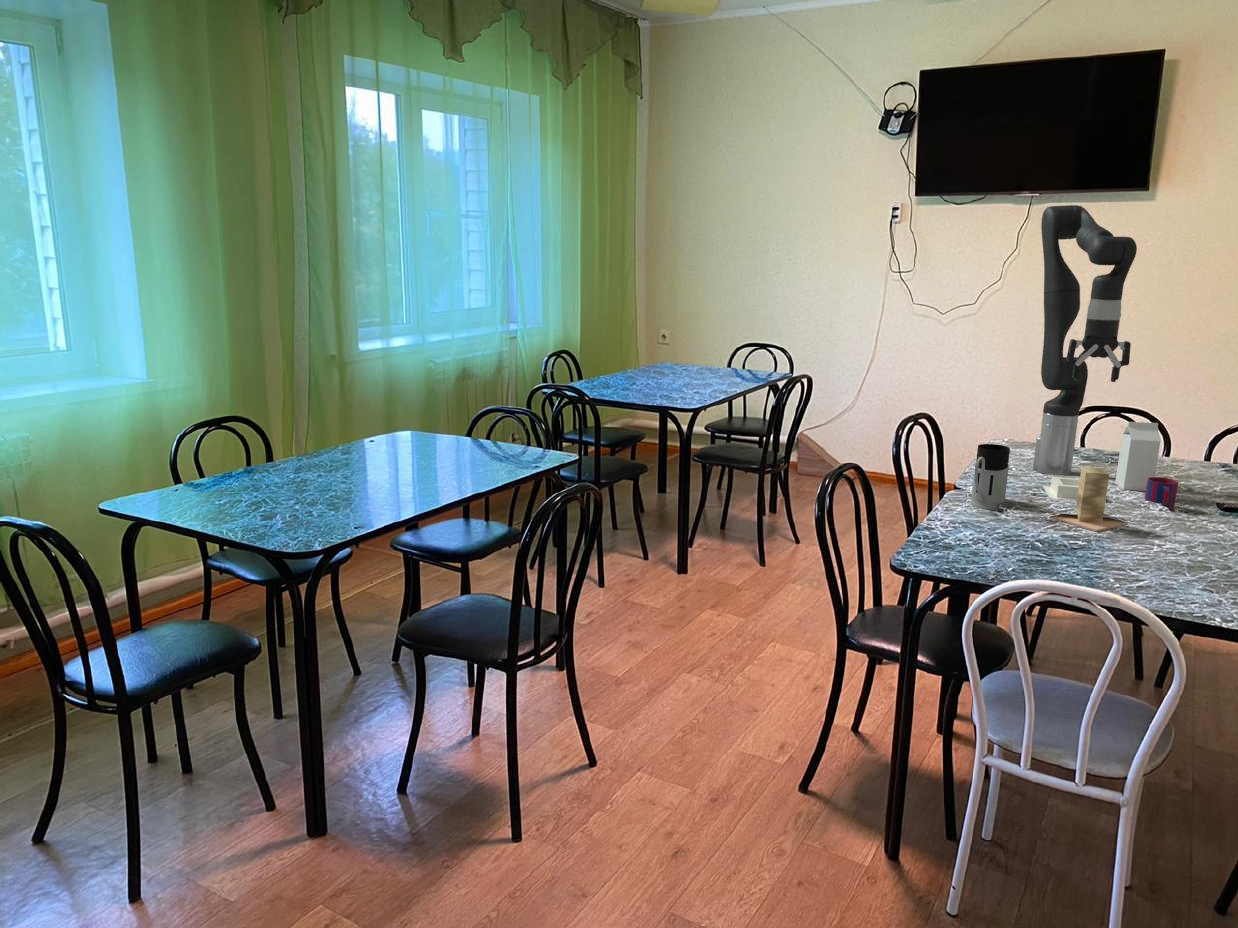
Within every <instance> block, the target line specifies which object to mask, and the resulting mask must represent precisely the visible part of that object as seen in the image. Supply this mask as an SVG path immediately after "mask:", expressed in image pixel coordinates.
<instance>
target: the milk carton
mask: <svg viewBox="0 0 1238 928" xmlns="http://www.w3.org/2000/svg"><path fill="white" fill-rule="evenodd" d="M1160 445H1161V437H1160V432H1159V423H1158V422H1143V421H1142V422H1141V421H1140V422H1138V421H1128V423H1127V426H1126V428H1125V429H1124V431H1123V433H1122V435H1121V441H1120V448H1119V449H1120V450H1119V455H1118V463H1117V470H1116V475H1115V476H1116V477H1115V482H1114V483H1115V484H1116V485H1117V486H1118V487H1120V488H1121V489H1122V490H1127V491H1128V490H1129V491H1140V492H1146V487H1147V481H1148V478H1149V477H1156V472H1157V465H1158V458H1159V453H1160V452H1159V451H1160Z"/></svg>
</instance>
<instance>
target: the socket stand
mask: <svg viewBox="0 0 1238 928" xmlns="http://www.w3.org/2000/svg"><path fill="white" fill-rule="evenodd" d="M1079 482H1080V478H1076V477H1075V478H1074V477H1062V476H1060V477H1059V476H1051V481H1050V485H1043V484H1042V487H1043V489H1044V490H1045V492H1046V493H1047V495H1048V497H1049V498H1050V499H1052V500H1053V499H1054V500H1065V501H1076V502H1077V497H1078V490H1079ZM1105 504H1107V501H1105Z"/></svg>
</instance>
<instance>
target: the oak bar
mask: <svg viewBox="0 0 1238 928" xmlns="http://www.w3.org/2000/svg"><path fill="white" fill-rule="evenodd" d="M1079 479H1080V482H1079V490H1078V497H1077V501H1076V505H1075V514H1074V515H1075V516H1076V518H1077V519H1078V520H1079V521H1080V522H1092V523H1102V522H1103V517H1104V515H1105V509H1106V503H1105V501H1106V499H1107V493H1108V487H1109V480H1110V473H1109V472H1108V471H1107V470H1106V469H1105V468H1094V467H1081V469H1080V477H1079ZM1106 502H1107V501H1106Z"/></svg>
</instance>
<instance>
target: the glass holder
mask: <svg viewBox="0 0 1238 928" xmlns="http://www.w3.org/2000/svg"><path fill="white" fill-rule="evenodd" d="M1010 453H1011V448H1010V447H1009V446H1006V445H1001V444H995V443H980V444H978V445H977V451H976V458H975V459H976V460H975V463H974V471H973V472H974V473H973V481H972V488H971V492H972V493H971V498H970V501H969V503H968V504H969V505H970V506H971V505H972V506H971V507H973V508H976V509H977V508H978V509H981V510H988V511H989V510H991V511H999V510H1000V511H1001V510H1002V508H1001V507H1000V505H999V504H1003V503H1005V502H1006V494H1007V486H1008V485H1007V484H1008V476H1009V469H1010V467H1009V461H1010Z"/></svg>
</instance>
